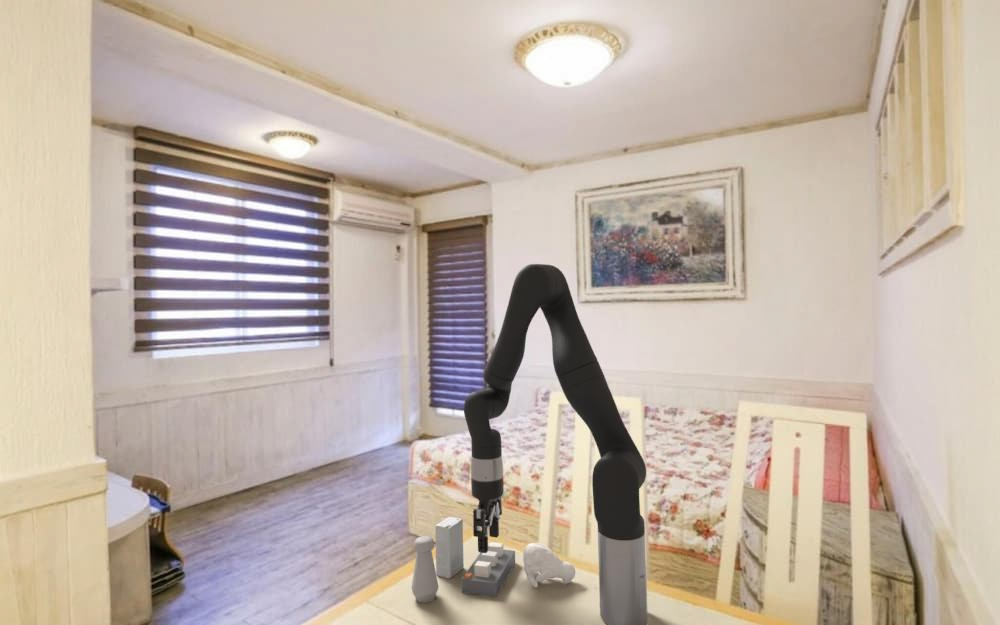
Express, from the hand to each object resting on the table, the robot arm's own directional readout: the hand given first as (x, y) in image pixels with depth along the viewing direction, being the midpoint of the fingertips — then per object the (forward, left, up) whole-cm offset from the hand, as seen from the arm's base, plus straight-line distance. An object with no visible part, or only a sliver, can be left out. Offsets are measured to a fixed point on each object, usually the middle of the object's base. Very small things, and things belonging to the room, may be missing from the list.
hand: (488, 544), depth 123 cm
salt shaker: (+11, +12, -8) cm, 18 cm away
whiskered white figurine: (-14, -1, -8) cm, 16 cm away
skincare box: (+10, 0, -8) cm, 13 cm away
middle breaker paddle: (0, 0, -5) cm, 5 cm away
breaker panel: (0, 0, -8) cm, 8 cm away
